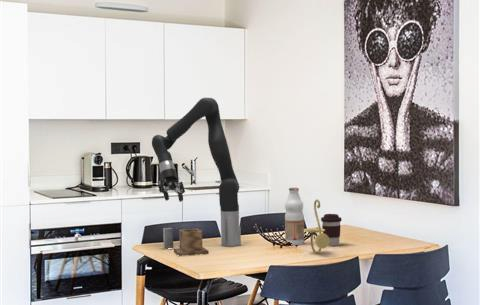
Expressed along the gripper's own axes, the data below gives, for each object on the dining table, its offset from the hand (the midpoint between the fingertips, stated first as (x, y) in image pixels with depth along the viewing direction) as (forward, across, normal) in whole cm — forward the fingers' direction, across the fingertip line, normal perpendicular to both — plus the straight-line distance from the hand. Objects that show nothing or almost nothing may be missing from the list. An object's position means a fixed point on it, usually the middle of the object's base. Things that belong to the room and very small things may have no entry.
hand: (174, 200), depth 299 cm
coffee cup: (+40, +57, -41) cm, 80 cm away
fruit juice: (+33, +48, -26) cm, 64 cm away
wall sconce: (+46, +35, -47) cm, 75 cm away
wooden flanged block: (+29, -1, -4) cm, 29 cm away
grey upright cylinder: (+21, -1, +11) cm, 24 cm away
